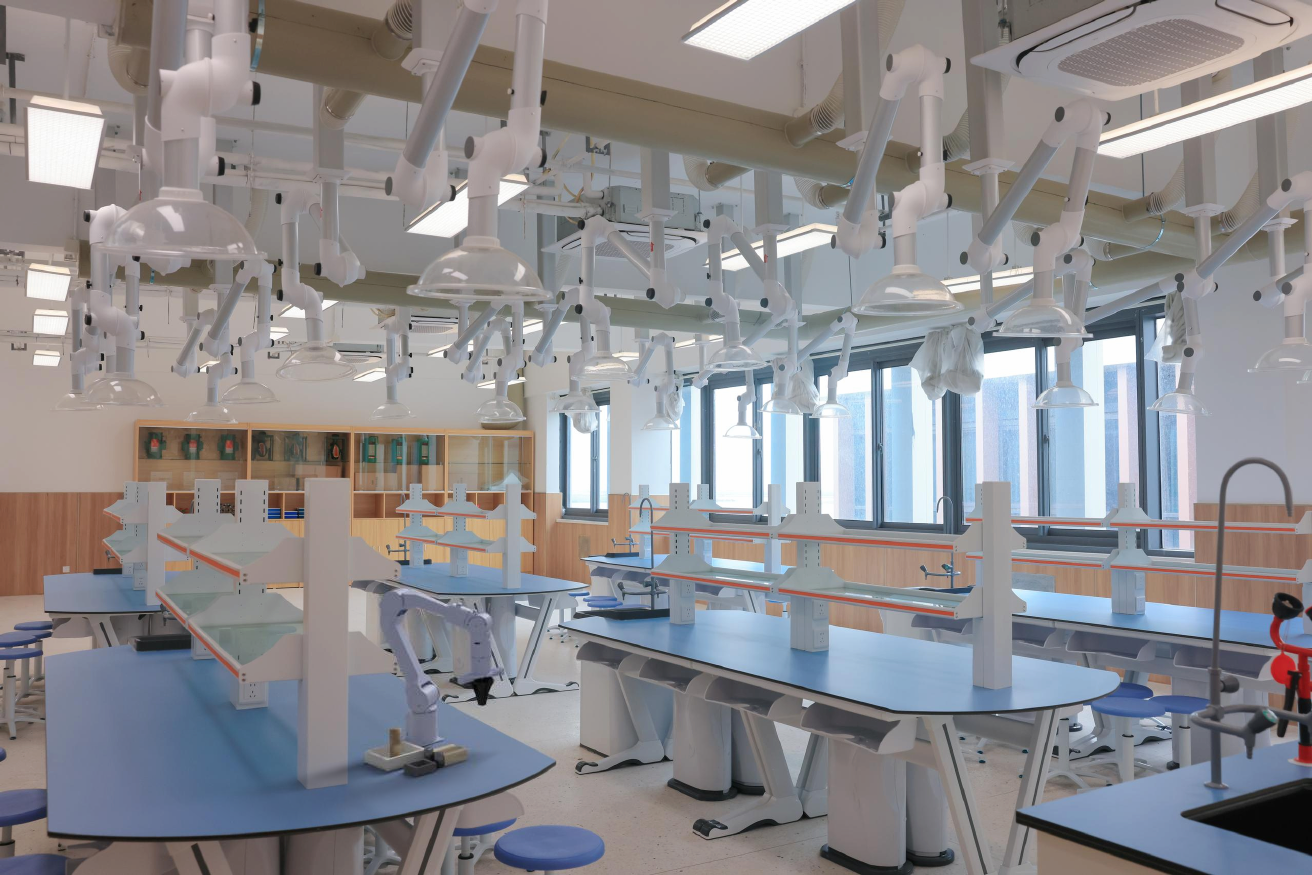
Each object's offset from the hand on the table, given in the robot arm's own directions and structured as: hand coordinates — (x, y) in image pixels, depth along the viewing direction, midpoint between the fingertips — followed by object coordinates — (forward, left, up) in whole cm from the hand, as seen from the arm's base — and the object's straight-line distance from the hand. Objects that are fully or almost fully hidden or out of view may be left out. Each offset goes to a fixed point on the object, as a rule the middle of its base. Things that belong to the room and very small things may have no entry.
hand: (482, 704), depth 267 cm
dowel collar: (+8, -25, -10) cm, 28 cm away
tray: (-4, -25, -10) cm, 27 cm away
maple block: (+6, -15, -11) cm, 19 cm away
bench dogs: (+6, -20, -10) cm, 23 cm away
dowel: (-4, -25, -10) cm, 27 cm away
